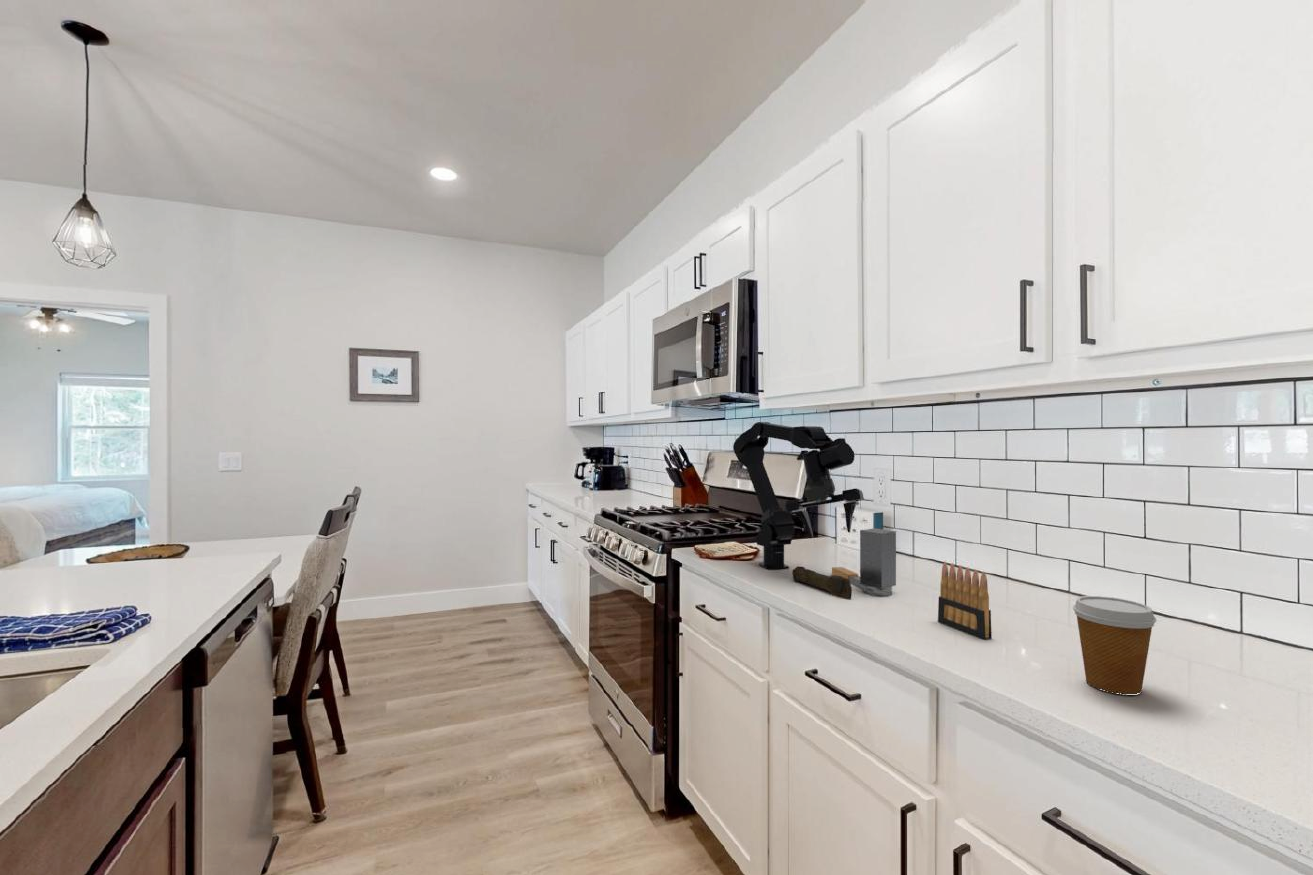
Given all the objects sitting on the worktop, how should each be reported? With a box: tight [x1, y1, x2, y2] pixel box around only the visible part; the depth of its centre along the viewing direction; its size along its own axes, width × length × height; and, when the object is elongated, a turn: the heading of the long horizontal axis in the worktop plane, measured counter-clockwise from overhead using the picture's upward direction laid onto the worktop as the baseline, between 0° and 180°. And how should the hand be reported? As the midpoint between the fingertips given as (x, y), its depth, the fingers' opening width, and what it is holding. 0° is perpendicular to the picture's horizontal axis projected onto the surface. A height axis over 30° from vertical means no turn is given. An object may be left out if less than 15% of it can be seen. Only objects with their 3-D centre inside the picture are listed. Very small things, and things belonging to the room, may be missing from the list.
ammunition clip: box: [937, 561, 993, 641], centre depth 108 cm, size 11×2×12 cm, turn 19°
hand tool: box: [792, 566, 853, 600], centre depth 137 cm, size 19×4×5 cm, turn 21°
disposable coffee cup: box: [1072, 595, 1158, 694], centre depth 84 cm, size 10×10×12 cm
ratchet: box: [831, 566, 893, 598], centre depth 142 cm, size 22×6×5 cm, turn 12°
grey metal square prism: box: [859, 528, 897, 589], centre depth 134 cm, size 6×6×12 cm
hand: (830, 535), depth 144 cm, fingers open, 9 cm apart
